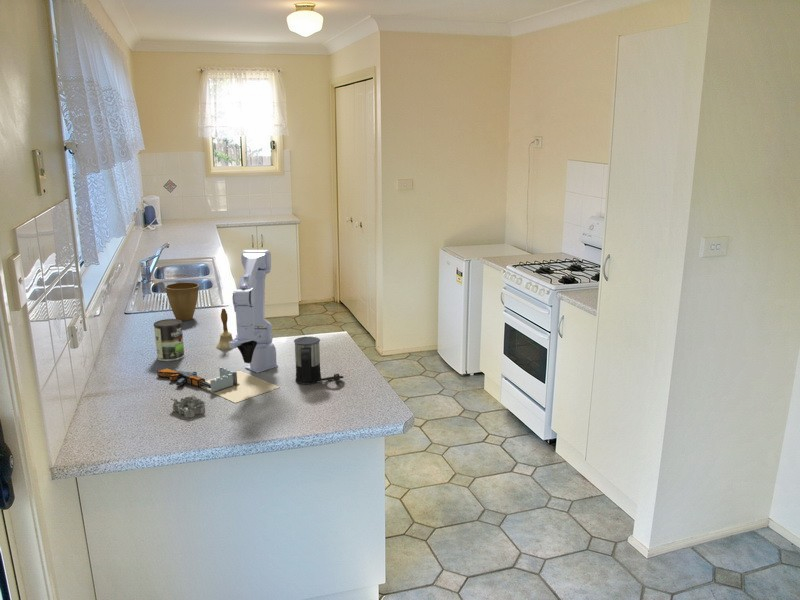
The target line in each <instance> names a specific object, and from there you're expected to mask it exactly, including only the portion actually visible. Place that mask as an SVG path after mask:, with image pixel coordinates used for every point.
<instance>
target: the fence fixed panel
mask: <svg viewBox="0 0 800 600" xmlns="http://www.w3.org/2000/svg"><path fill="white" fill-rule="evenodd" d="M218 370H219V377H220V378H222V376H228V374H232V377H233V372H234V371H233V370H230V369H228V368H226V367H223V366H219V369H218ZM233 384H234V380H233Z"/></svg>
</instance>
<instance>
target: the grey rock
mask: <svg viewBox="0 0 800 600" xmlns="http://www.w3.org/2000/svg"><path fill="white" fill-rule="evenodd" d="M170 400H171V401H173V403H172V411H174V412H178V414H179V415H184V417H185V418H194V417H195V416H196V415H197V414H200V415H202V414H204V413H205V411H206V403H207V401H204V400H202V399H201V398H198V397H196V396H195V395H194V394H192V395H188V396H185V397H184V398H183V397H181V398H180V400H177V398H171V397H170ZM185 405H186V406H187V407H186V406H185Z"/></svg>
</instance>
